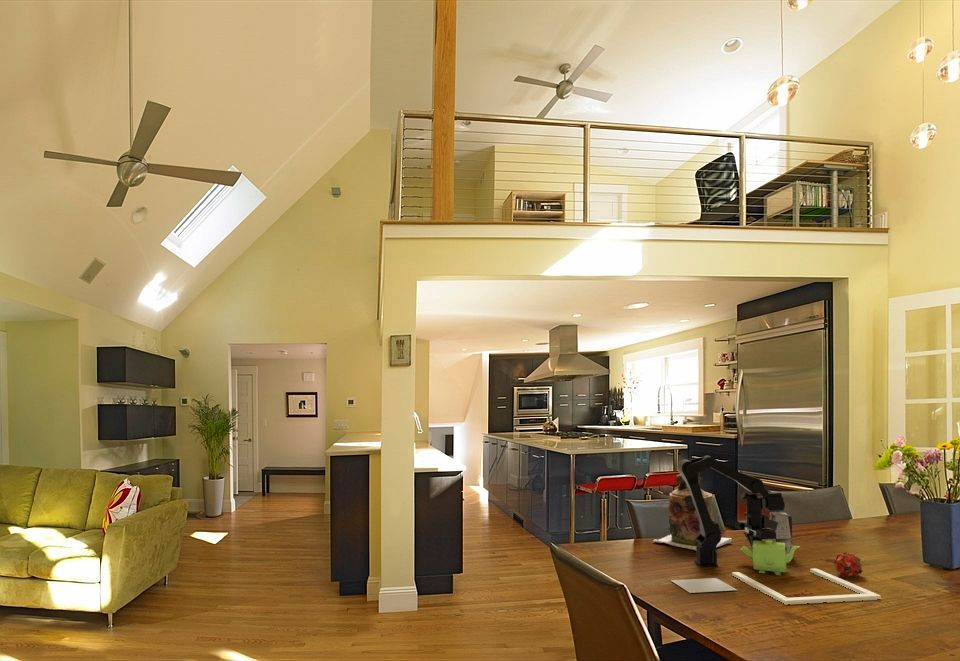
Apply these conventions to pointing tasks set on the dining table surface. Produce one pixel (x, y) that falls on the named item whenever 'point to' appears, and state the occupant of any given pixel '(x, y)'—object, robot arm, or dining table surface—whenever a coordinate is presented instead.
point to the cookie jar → (686, 517)
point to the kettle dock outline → (814, 599)
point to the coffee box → (783, 529)
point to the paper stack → (703, 585)
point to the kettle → (769, 556)
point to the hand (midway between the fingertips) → (756, 553)
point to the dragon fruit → (848, 565)
